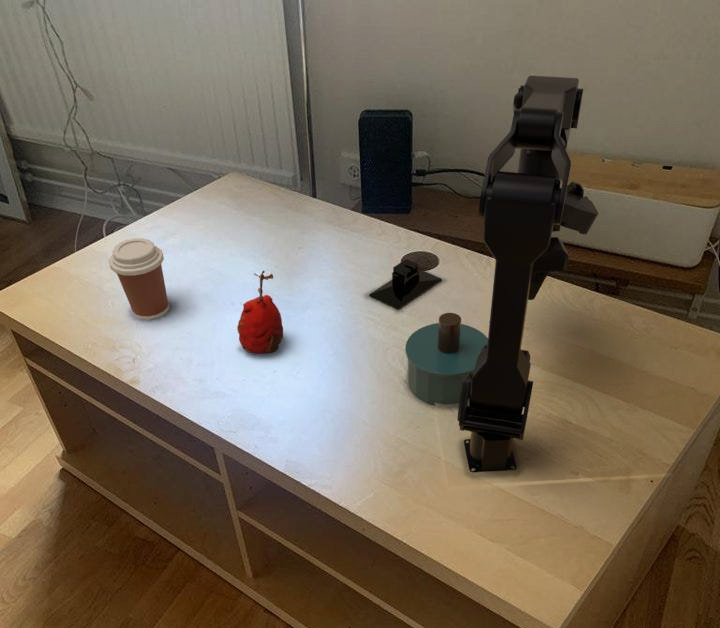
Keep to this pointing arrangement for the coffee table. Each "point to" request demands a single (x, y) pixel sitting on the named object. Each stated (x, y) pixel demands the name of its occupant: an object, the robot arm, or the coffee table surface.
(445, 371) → the tin lid
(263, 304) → the red fruit with stem
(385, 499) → the coffee table surface
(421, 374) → the tin
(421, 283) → the build plate
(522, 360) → the robot arm
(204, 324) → the coffee table surface
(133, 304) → the coffee cup
